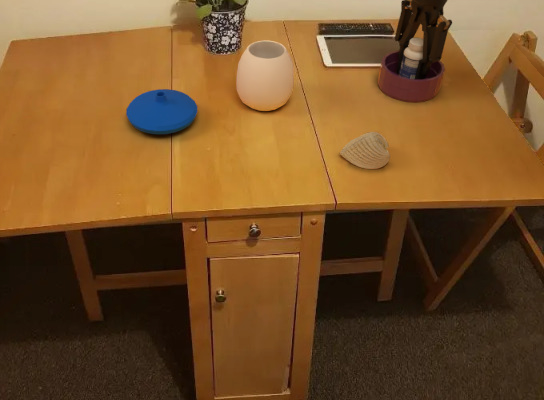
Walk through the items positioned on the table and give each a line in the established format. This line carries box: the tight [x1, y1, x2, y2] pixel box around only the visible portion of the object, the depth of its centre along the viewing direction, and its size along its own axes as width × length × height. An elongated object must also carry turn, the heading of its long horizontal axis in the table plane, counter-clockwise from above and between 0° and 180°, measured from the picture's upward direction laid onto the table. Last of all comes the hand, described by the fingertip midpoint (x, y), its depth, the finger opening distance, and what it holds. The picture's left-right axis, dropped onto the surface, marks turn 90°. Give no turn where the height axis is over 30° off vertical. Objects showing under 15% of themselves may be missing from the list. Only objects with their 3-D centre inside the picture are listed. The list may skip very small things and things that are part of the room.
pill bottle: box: [399, 37, 423, 79], centre depth 136 cm, size 5×5×10 cm
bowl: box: [377, 49, 446, 103], centre depth 139 cm, size 14×14×6 cm
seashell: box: [339, 131, 391, 170], centre depth 119 cm, size 8×8×8 cm
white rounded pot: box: [235, 39, 295, 112], centre depth 132 cm, size 13×13×14 cm
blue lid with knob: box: [125, 88, 198, 135], centre depth 128 cm, size 16×16×7 cm
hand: (409, 77), depth 139 cm, fingers closed on pill bottle, 5 cm apart
